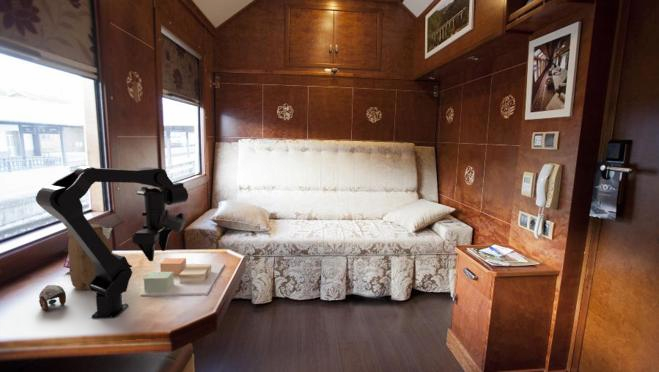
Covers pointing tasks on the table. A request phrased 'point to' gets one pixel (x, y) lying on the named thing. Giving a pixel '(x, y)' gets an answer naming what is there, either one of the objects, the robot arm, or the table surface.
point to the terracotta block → (173, 265)
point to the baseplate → (190, 285)
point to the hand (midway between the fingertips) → (157, 255)
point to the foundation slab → (195, 273)
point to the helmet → (51, 296)
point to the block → (83, 260)
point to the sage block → (158, 281)
